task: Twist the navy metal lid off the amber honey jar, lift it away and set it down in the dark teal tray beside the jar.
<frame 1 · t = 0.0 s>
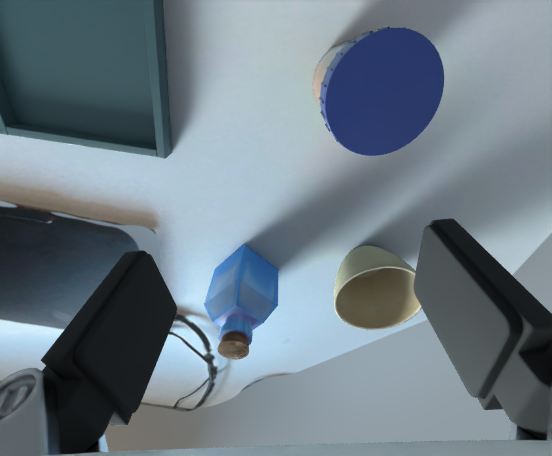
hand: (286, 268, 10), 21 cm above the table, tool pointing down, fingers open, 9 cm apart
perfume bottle: (246, 268, 37), on the table
tray: (79, 65, 24), on the table
jar: (346, 82, 24), on the table
lid: (380, 98, 16), point 10 cm above the table, screwed on, not yet turned
flower pot: (363, 258, 36), on the table
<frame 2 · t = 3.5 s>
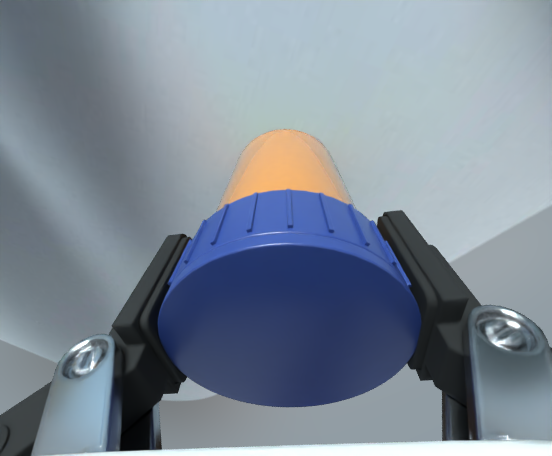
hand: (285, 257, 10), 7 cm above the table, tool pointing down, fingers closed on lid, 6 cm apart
jar: (284, 181, 16), on the table
lid: (287, 333, 7), point 10 cm above the table, screwed on, not yet turned, touching gripper
when the fingers open (6 cm above the table, at t = 5.5 s): lid stays where it is, point 11 cm above the table.
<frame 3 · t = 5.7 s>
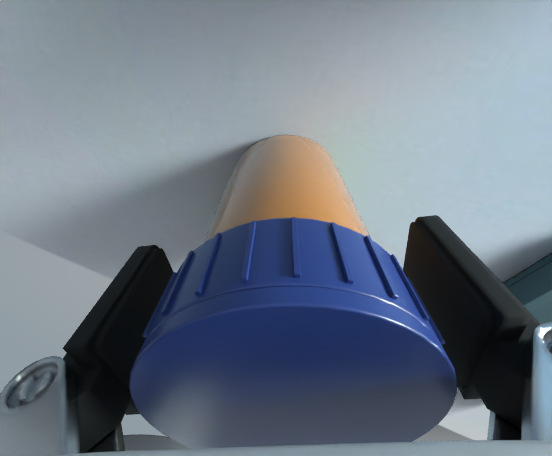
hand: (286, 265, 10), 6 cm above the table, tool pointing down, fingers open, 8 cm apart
jar: (285, 190, 15), on the table
lid: (289, 391, 6), point 11 cm above the table, turned 81° so far, risen 0.2 cm, still on its thread
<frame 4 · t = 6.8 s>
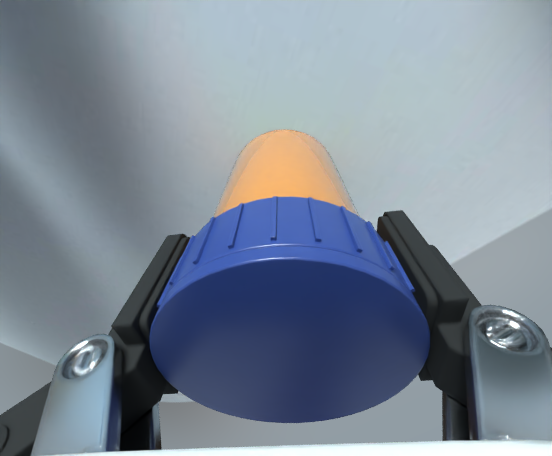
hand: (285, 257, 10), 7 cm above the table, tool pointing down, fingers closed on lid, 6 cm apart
jar: (284, 182, 16), on the table
lid: (287, 348, 7), point 11 cm above the table, turned 81° so far, risen 0.2 cm, still on its thread, touching gripper
when the fingers open (2 cm above the table, at t = 16.2 s): lid drops 4 cm, resting on tray.
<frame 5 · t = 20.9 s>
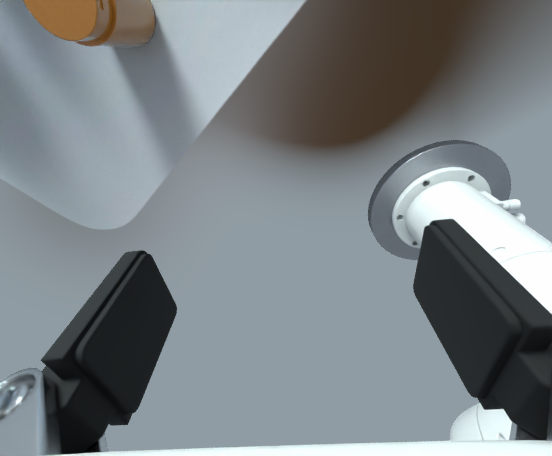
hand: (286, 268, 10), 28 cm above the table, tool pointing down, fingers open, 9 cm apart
jar: (126, 13, 28), on the table
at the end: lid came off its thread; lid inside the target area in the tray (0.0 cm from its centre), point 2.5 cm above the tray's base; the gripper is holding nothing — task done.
